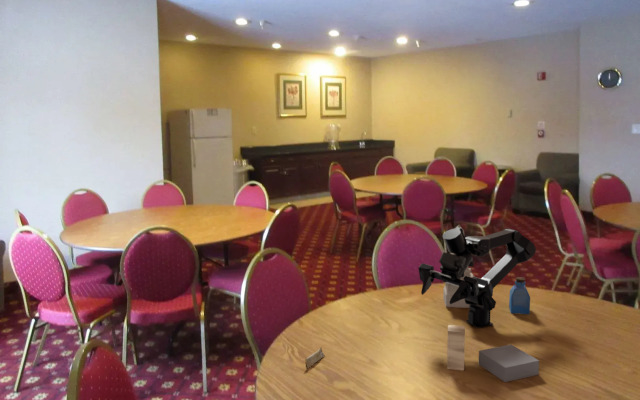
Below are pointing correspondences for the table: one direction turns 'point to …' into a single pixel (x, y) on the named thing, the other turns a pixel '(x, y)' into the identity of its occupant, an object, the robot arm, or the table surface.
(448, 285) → the miniature monument
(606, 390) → the table surface
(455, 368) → the birch block
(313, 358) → the snack bar
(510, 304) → the perfume bottle
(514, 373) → the plinth
